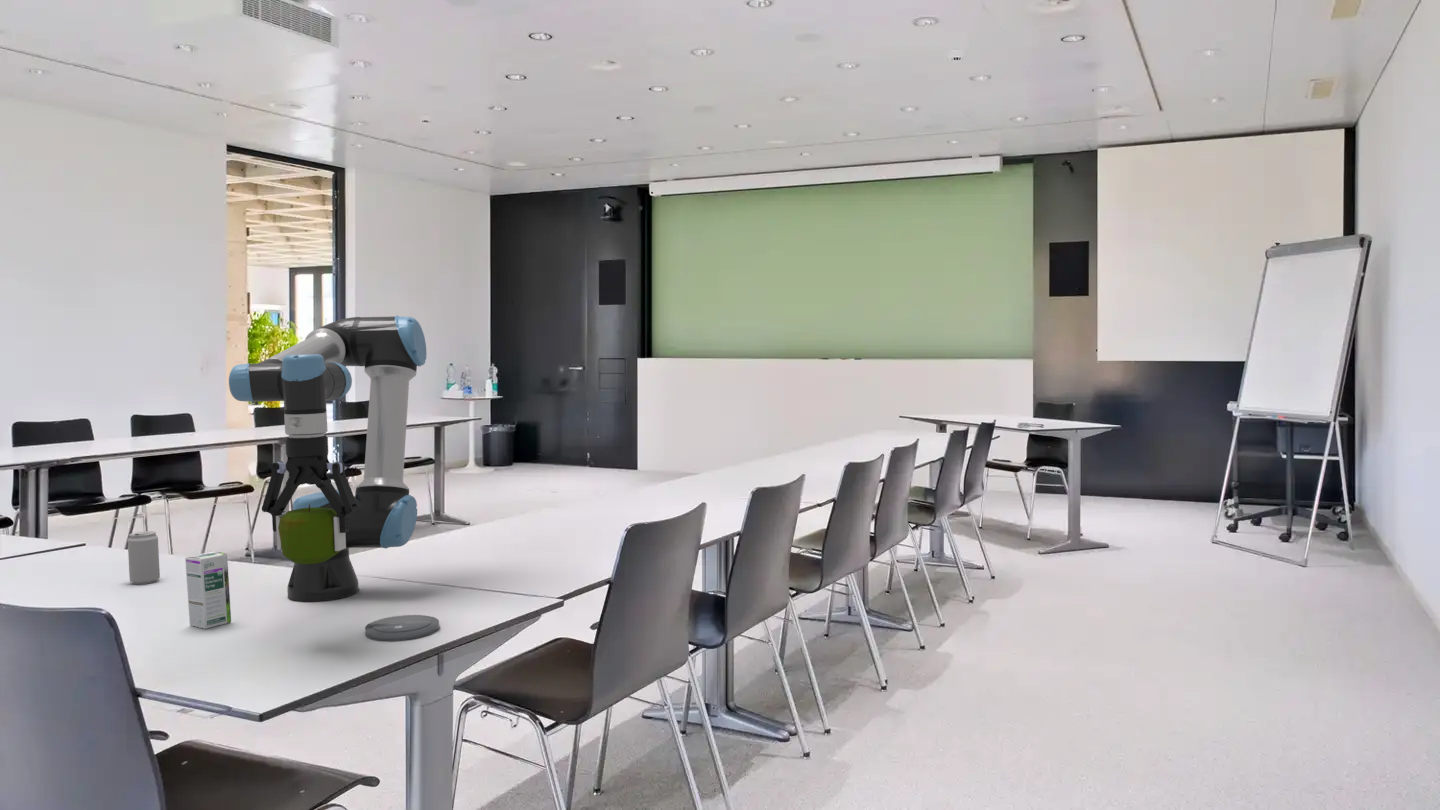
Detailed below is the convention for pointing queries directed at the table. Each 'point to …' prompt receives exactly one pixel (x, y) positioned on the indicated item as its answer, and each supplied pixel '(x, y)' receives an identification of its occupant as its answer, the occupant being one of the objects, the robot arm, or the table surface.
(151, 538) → the beverage can
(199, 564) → the syrup box
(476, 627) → the table surface
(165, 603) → the table surface
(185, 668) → the table surface
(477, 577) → the table surface
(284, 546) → the apple
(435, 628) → the slate plate
